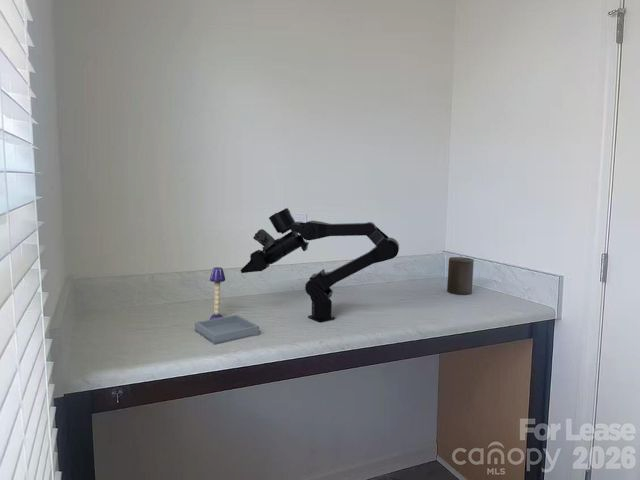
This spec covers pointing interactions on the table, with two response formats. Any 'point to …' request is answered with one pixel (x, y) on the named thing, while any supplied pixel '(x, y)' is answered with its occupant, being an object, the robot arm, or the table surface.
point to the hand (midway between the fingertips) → (246, 268)
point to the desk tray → (226, 329)
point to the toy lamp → (217, 290)
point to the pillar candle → (460, 275)
